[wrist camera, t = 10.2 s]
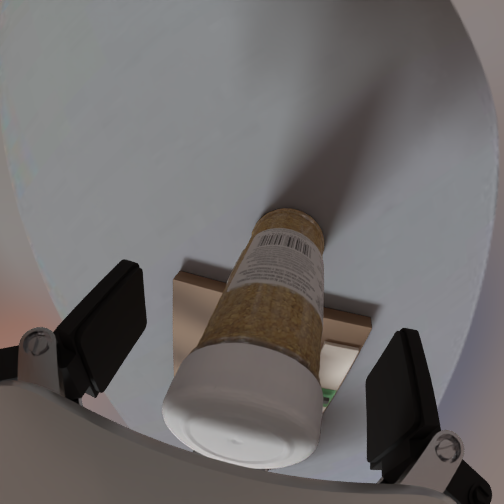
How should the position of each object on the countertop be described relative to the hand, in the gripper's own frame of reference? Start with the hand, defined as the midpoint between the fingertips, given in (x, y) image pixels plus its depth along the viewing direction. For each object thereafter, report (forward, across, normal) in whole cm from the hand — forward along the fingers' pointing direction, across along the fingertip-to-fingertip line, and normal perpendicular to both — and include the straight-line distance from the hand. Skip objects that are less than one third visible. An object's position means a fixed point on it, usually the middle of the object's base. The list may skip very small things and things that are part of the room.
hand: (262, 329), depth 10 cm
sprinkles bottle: (+9, 0, +1) cm, 9 cm away
